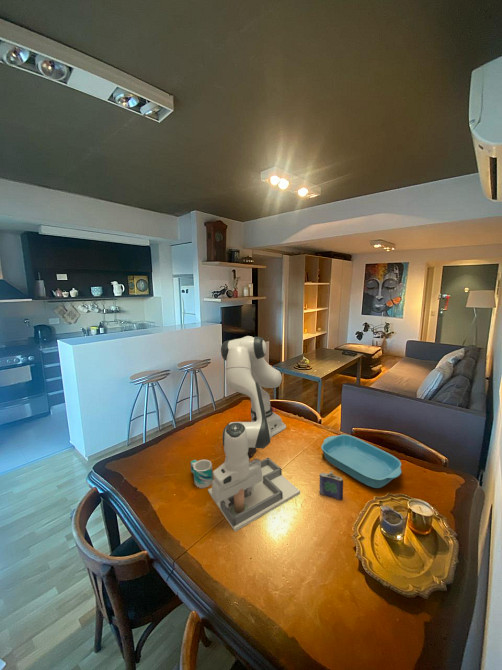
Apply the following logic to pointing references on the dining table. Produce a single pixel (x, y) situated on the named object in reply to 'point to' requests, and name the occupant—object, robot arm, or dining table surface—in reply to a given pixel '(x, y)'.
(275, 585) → the dining table surface
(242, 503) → the peg
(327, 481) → the flask
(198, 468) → the mug
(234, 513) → the pad
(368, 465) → the casserole dish
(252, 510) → the channel
